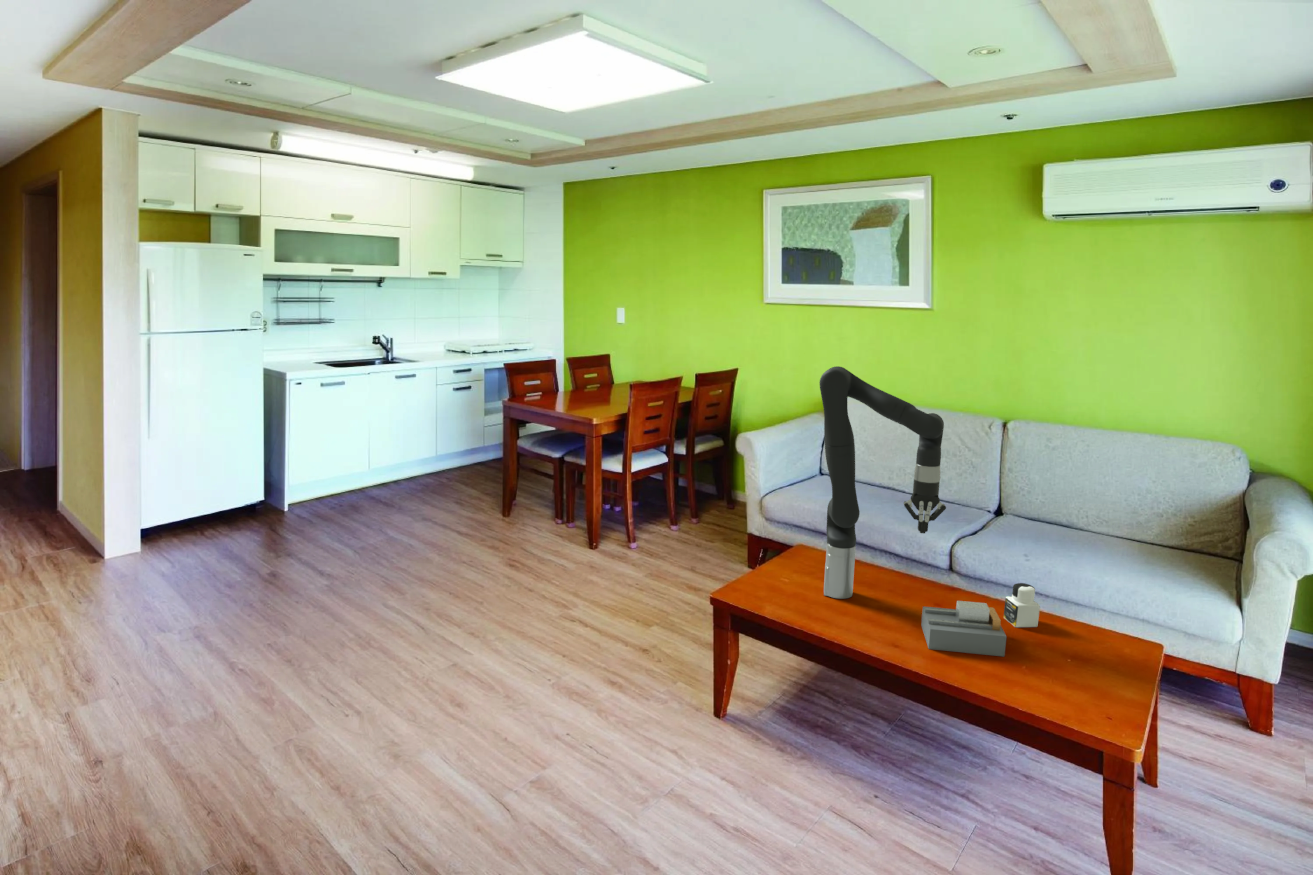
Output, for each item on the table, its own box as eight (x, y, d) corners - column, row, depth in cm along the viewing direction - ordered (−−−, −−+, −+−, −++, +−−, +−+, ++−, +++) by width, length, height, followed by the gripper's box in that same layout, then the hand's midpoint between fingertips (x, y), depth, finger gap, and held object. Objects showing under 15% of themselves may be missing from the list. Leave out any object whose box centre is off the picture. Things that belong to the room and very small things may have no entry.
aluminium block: (958, 623, 220) (959, 606, 219) (955, 616, 224) (956, 600, 223) (987, 626, 218) (989, 609, 217) (984, 619, 223) (986, 603, 222)
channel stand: (928, 648, 217) (931, 618, 215) (921, 624, 233) (923, 596, 231) (1004, 656, 213) (1007, 626, 212) (991, 631, 229) (994, 603, 227)
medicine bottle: (1002, 617, 239) (1006, 581, 236) (1024, 617, 239) (1029, 580, 237) (1015, 627, 232) (1019, 590, 229) (1038, 627, 232) (1042, 589, 230)
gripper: (947, 477, 239) (942, 530, 243) (903, 474, 242) (899, 527, 245) (951, 483, 232) (946, 538, 235) (905, 480, 235) (901, 534, 238)
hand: (922, 532), depth 240 cm, fingers closed
